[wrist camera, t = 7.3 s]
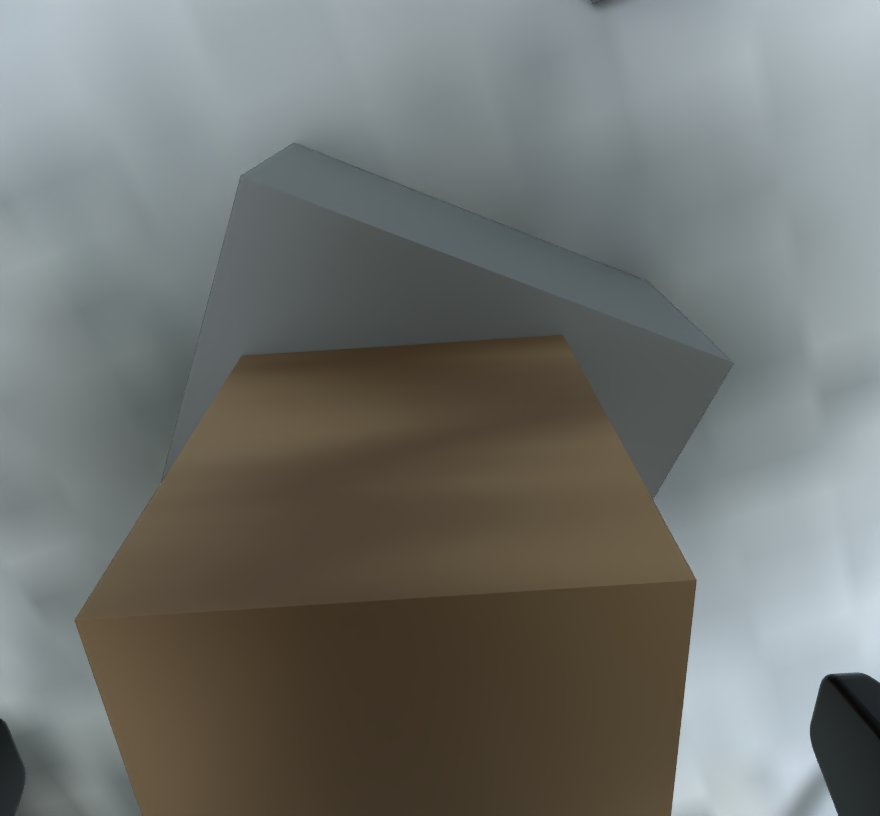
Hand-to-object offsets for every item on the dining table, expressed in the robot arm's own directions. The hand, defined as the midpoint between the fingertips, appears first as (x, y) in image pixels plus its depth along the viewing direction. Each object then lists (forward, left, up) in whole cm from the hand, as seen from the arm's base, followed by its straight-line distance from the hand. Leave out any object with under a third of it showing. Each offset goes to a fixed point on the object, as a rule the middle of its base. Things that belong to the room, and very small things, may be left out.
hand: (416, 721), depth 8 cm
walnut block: (0, 0, -5) cm, 5 cm away
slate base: (0, 0, -10) cm, 10 cm away
